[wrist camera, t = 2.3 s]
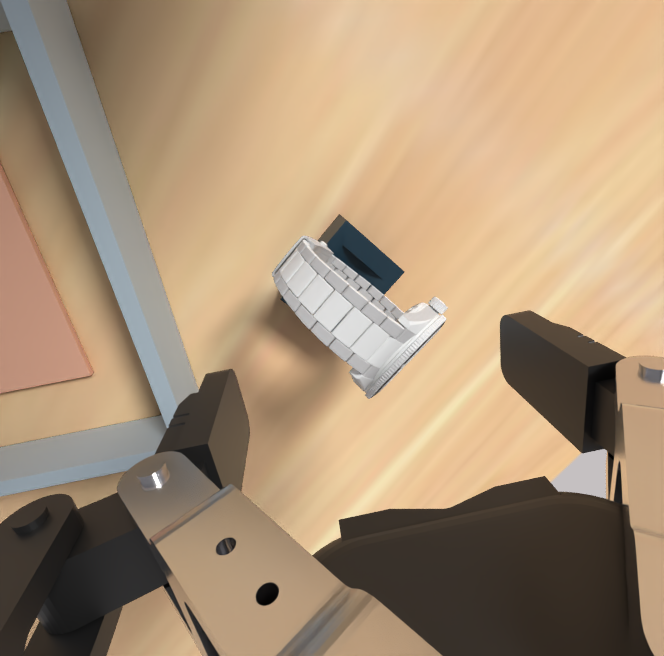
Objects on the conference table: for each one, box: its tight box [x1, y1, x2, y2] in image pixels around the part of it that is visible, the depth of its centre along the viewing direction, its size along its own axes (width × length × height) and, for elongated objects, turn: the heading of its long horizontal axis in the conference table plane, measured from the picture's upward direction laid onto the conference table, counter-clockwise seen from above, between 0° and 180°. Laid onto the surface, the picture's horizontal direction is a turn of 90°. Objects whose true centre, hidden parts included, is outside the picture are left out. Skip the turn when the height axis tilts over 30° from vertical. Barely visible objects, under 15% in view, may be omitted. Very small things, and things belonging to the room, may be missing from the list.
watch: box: [272, 214, 447, 399], centre depth 20 cm, size 6×8×11 cm
